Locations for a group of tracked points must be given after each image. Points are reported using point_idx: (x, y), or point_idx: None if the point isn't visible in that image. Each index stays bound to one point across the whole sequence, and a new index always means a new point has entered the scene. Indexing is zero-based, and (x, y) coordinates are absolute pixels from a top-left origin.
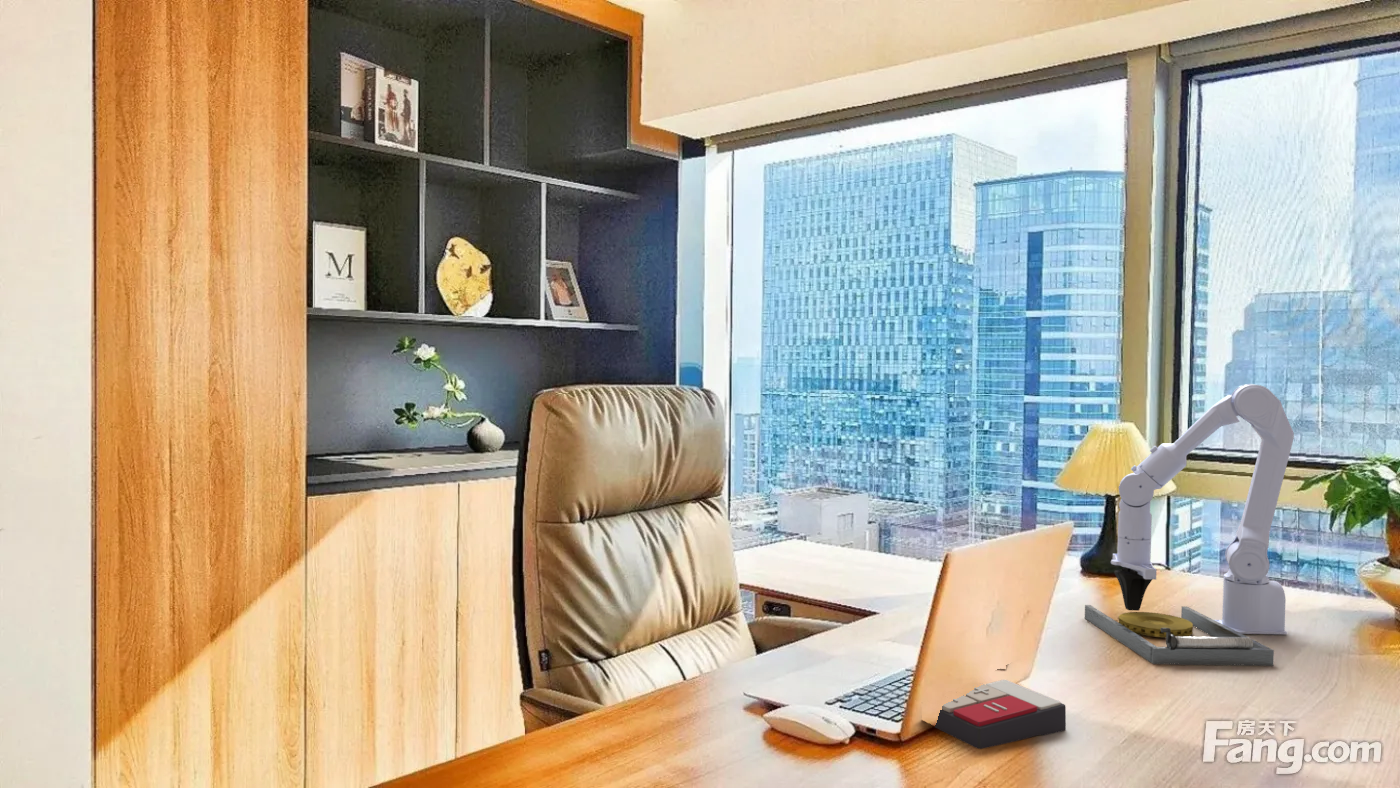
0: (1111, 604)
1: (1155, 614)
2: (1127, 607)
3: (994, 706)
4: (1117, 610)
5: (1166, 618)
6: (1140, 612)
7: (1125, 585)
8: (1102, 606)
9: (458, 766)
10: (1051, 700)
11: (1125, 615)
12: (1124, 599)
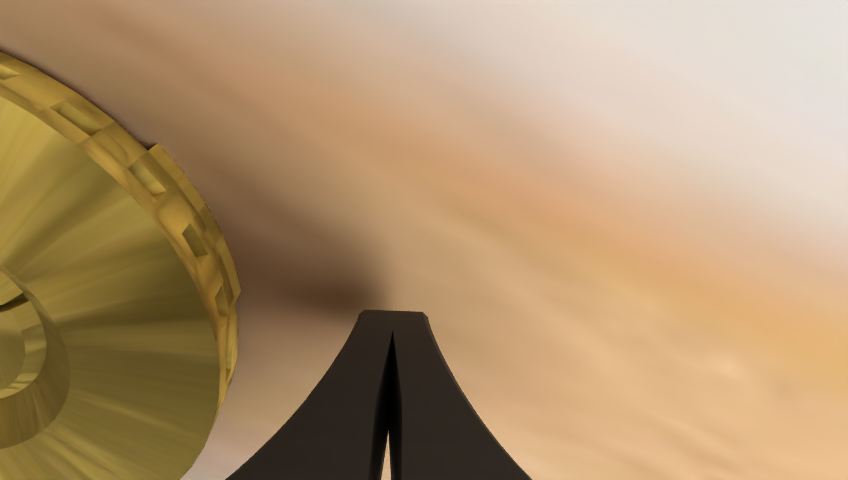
0: (796, 330)
1: (147, 424)
2: (365, 317)
3: None
4: (609, 294)
5: (29, 445)
6: (195, 347)
7: (276, 468)
8: (760, 236)
9: None
10: None
11: (28, 165)
12: (409, 351)
